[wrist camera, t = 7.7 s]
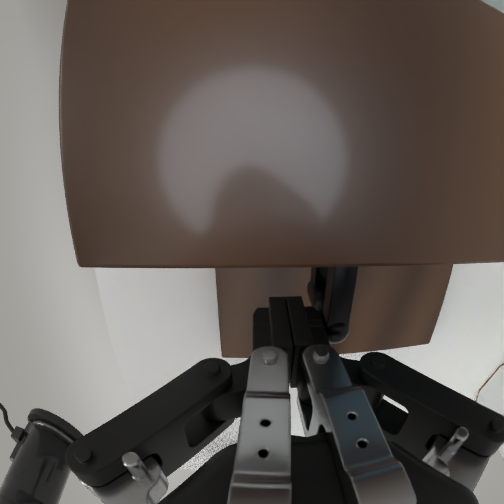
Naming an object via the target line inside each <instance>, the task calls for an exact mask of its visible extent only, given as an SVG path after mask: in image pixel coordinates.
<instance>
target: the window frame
mask: <svg viewBox="0 0 504 504" xmlns="http://www.w3.org/2000/svg"><path fill="white" fill-rule="evenodd" d="M59 129H60V148H61V160H62V172H63V180H64V189H65V197H66V204H67V211H68V217H69V223H70V228H71V234H72V239H73V244H74V249H75V254H76V259H77V263H78V265H79V266H80V267H103V268H215V272H216V287H217V301H218V315H219V327H220V340H221V351H222V357H225V358H249V357H250V356H251V354H252V352H253V313H254V312H255V310H256V309H257V308H266V307H268V298H269V297H283V296H284V297H286V296H302V300H303V303H304V307H308V306H311V303H310V299H309V296H308V293H307V285H308V283H309V281H310V278H311V267H358V274H357V280H356V287H355V293H354V299H353V305H352V310H351V316H350V321H349V323H350V332H349V335H348V337H347V338H346V339H345V340H344V341H342V342H340V343H336V344H332V343H330V346H331V347H333V348H334V349H335V350H336V351H337V352H338V354H346V353H357V352H368V351H377V350H386V349H394V348H401V347H409V346H416V345H422V344H429V342H430V340H431V337H432V334H433V331H434V328H435V325H436V322H437V319H438V316H439V313H440V310H441V307H442V304H443V300H444V297H445V294H446V290H447V287H448V283H449V279H450V275H451V271H452V267H453V264H466V263H492V262H504V13H502V12H501V11H499V10H497V9H496V8H494V7H492V6H490V5H489V4H487V3H485V2H483V1H481V0H68V1H67V7H66V13H65V20H64V27H63V36H62V46H61V58H60V76H59Z"/></svg>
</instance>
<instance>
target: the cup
mask: <svg viewBox="0 0 504 504" xmlns="http://www.w3.org/2000/svg"><path fill="white" fill-rule="evenodd" d="M477 403H479V404H481V405H483V406H485V407H487V408H489V409H491V410H493V411H495V412H497V413H499V414H501V415H503V416H504V365H502V366H500V367H499V368H498V370H497V371H496V372H495V373H494V374H493V376H492V377H491V378H490V379H489V380H488V382H487V383H486V384H485V385H484V386H483V387H482V388H481V390H480V392H479V395H478V398H477ZM499 451H500V453H501V455H502V457H503V459H504V443H503V444H502V445H501V446H500V448H499Z"/></svg>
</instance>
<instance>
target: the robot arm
mask: <svg viewBox="0 0 504 504" xmlns="http://www.w3.org/2000/svg"><path fill="white" fill-rule="evenodd" d="M289 383H290V387H291V388H297V390H298V396H297V405H298V409H299V414H300V418H301V422H302V426H303V430H304V434H305V437H301V436H294V435H291V404H290V394H289ZM384 395H385V396H387V397H389V398H390V399H392V400H394V401H395V402H397V403H399V404H401V405H402V406H404V407H405V408H406V409H407V410H408V412H409V414H408V413H406V412H405V411H403V410H401V409H399V408H398V407H396V406H394V405H393V404H391V403H389V402H388V401H386V400H384V399H383V396H384ZM0 409H1V410H2V411H3V415H4V421H5V423H6V425H7V427H8V428H9V429H10V431H11V432H12V434H11V437H12V438H13V439H14V440H15V442H17V444H16V446H15V448H14V450H13V452H12V454H11V456H10V460H11V461H12V464H11V466H10V468H9V470H8V472H7V474H6V477H5V479H4V481H3V483H2V486H1V488H0V504H59V501H60V498H61V495H62V493H63V490H64V487H65V485H66V482H67V479H68V477H69V474H70V472H71V471H72V472H73V473H74V474H75V475H76V476H77V477H78V479H79V480H80V481H81V482H82V483H83V484H84V485H85V486H86V487H87V488H88V489H89V490H90V491H91V492H92V493H93V494H94V495H95V496H97V497H98V498H99V499H100V500H101V501H102V502H103V504H479V503H478V500H477V498H476V496H475V495H474V493H473V490H474V488H475V486H476V485H477V483H478V481H479V479H480V477H481V475H482V473H483V471H484V469H485V467H486V464H487V462H488V460H489V458H490V457H491V456H492V455H493V454H494V453H495V452H496V451H497V449H499V448H500V446H501V445H502V444H503V443H504V416H503V415H501V414H499V413H497V412H495V411H493V410H491V409H489V408H487V407H485V406H483V405H481V404H479V403H477V402H475V401H473V400H471V399H469V398H467V397H466V396H464V395H462V394H460V393H458V392H456V391H454V390H452V389H450V388H448V387H446V386H444V385H442V384H440V383H438V382H437V381H435V380H433V379H431V378H429V377H427V376H425V375H423V374H421V373H419V372H418V371H416V370H414V369H412V368H410V367H408V366H406V365H404V364H403V363H401V362H399V361H397V360H395V359H393V358H391V357H390V356H388V355H386V354H383V353H380V352H370V353H367V354H365V355H363V356H362V357H361V359H360V361H357V360H350V359H345V358H342V357H340V356H339V354H338V352H337V351H336V350H335V349H334V348H333V347H331V346H330V343H329V340H328V337H327V334H326V331H325V328H324V325H323V322H322V319H321V316H320V313H319V312H318V311H317V310H316V309H315V308H314V307H313V306H308V307H304V303H303V300H302V296H286V297H284V296H283V297H269V298H268V307H266V308H257V309H256V310H255V312H254V313H253V352H252V354H251V356H250V357H249V358H248V359H247V360H246V361H244V362H242V363H239V364H236V365H231V366H230V364H229V363H228V362H226V361H225V360H222V359H219V358H208V359H204V360H202V361H200V362H198V363H197V364H195V365H194V366H192V367H191V368H190V369H188V370H187V371H185V372H184V373H182V374H181V375H179V376H178V377H176V378H175V379H173V380H172V381H170V382H169V383H167V384H166V385H164V386H163V387H161V388H160V389H158V390H157V391H155V392H154V393H152V394H151V395H149V396H148V397H146V398H145V399H143V400H141V401H140V402H138V403H137V404H135V405H134V406H132V407H130V408H129V409H127V410H126V411H124V412H122V413H121V414H119V415H118V416H116V417H114V418H113V419H111V420H110V421H108V422H106V423H105V424H103V425H101V426H100V427H98V428H97V429H95V430H93V431H91V432H90V433H88V434H86V435H85V436H83V437H81V438H79V439H78V440H76V441H75V440H74V439H73V438H72V437H71V436H70V435H69V434H67V433H66V432H65V431H63V430H62V429H60V428H59V427H57V426H55V425H54V424H52V423H50V422H47V421H45V420H41V419H35V420H34V421H33V420H30V421H29V422H28V424H27V426H26V428H25V429H23V428H20V427H17V426H16V427H15V429H13V427H12V426H11V424H10V423H9V421H8V415H7V411H6V409H5V408H4V407H3V405H2V404H1V403H0ZM238 417H241V420H240V427H239V434H238V441H237V443H236V444H233V445H230V446H228V447H226V448H224V449H222V450H220V451H219V452H218V453H216V454H215V455H214V456H212V457H211V458H210V459H209V460H208V461H207V462H206V463H205V464H204V465H202V466H201V467H200V468H199V469H198V470H197V471H196V472H195V473H194V474H192V475H191V476H190V477H189V478H188V479H187V480H185V481H184V482H183V483H182V484H181V485H180V486H178V487H177V488H176V489H175V490H174V491H172V492H171V493H170V494H169V495H167V496H166V497H165V498H164V499H163V500H161V501H160V502H159V500H160V499H161V498H162V497H163V495H164V494H165V493H166V491H167V489H168V480H167V478H166V477H167V476H169V475H170V474H171V473H173V472H174V471H175V470H177V469H178V468H179V467H181V466H182V465H183V464H184V463H186V462H187V461H188V460H189V459H191V458H192V457H193V456H194V455H196V454H197V453H198V452H199V451H201V450H202V449H203V448H204V447H205V446H207V445H208V444H209V443H210V442H211V441H213V440H214V439H215V438H216V437H217V436H218V435H220V434H221V433H222V432H223V431H224V430H225V429H227V428H228V427H229V426H230V425H231V424H232V423H233V422H234V420H235V418H238ZM158 502H159V503H158Z"/></svg>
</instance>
